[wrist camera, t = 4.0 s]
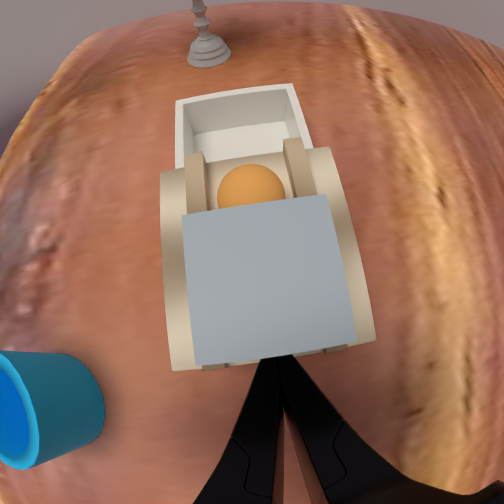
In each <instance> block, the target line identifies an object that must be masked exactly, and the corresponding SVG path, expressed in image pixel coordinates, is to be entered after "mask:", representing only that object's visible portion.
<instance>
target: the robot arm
mask: <svg viewBox="0 0 504 504" xmlns="http://www.w3.org/2000/svg"><path fill="white" fill-rule="evenodd" d="M283 407H284V409H283ZM284 412H285V416H286V420H287V423H288V426H289V430H290V433H291V437H292V440H293V443H294V447H295V450H296V453H297V457H298V460H299V463H300V467H301V470H302V473H303V477H304V480H305V483H306V487H307V490H308V493H309V497H310V500H311V503H312V504H504V482H502V481H499V480H497V481H495V482H493V483H492V484H490V485H488V486H487V487H485V488H484V489H482V490H480V491H479V492H477V493H474V494H470V495H460V494H455V493H452V492H448V491H445V490H442V489H438V488H435V487H432V486H429V485H426V484H423V483H420V482H418V481H415V480H413V479H410V478H409V477H407V476H405V475H404V474H402V473H401V472H400V471H398V470H397V469H396V468H395V467H393V466H392V465H391V464H390V463H389V462H387V461H386V460H385V459H384V458H383V457H382V456H380V455H379V454H378V453H377V452H376V451H375V450H374V449H372V448H371V447H370V446H369V445H368V444H367V443H366V442H365V441H364V440H363V439H362V438H361V437H360V436H359V435H358V434H357V433H356V432H355V431H354V429H353V428H352V427H351V426H350V425H349V424H348V422H347V421H346V420H344V418H343V417H342V415H341V414H340V413H339V412H338V410H337V409H336V408H335V407H334V406H333V404H332V403H331V402H330V401H329V399H328V398H327V397H326V396H325V395H324V393H323V392H322V391H321V390H320V388H319V387H318V386H317V385H316V383H315V382H314V381H313V380H312V378H311V377H310V376H309V375H308V373H307V372H306V371H305V370H304V368H303V367H302V366H301V365H300V363H299V362H298V361H297V360H296V358H295V357H294V356H293V355H292V354H289V355H283V356H276V357H270V358H263V359H260V362H259V365H258V367H257V370H256V373H255V375H254V378H253V380H252V383H251V386H250V388H249V391H248V393H247V396H246V399H245V401H244V404H243V406H242V409H241V411H240V414H239V416H238V419H237V421H236V424H235V426H234V429H233V431H232V434H231V437H230V438H229V441H228V443H227V446H226V448H225V450H224V452H223V454H222V457H221V459H220V461H219V462H218V464H217V466H216V468H215V470H214V471H213V473H212V475H211V476H210V478H209V479H208V481H207V483H206V484H205V486H204V487H203V489H202V490H201V492H200V494H199V495H198V497H197V498H196V500H195V501H194V503H193V504H283V490H284Z"/></svg>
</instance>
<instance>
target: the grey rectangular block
mask: <svg viewBox="0 0 504 504" xmlns="http://www.w3.org/2000/svg"><path fill="white" fill-rule="evenodd" d="M182 229H183V245H184V259H185V271H186V283H187V294H188V304H189V314H190V323H191V332H192V340H193V349H194V356H195V364H196V366H200V365H212V364H222V363H231V362H240V361H248V360H255V359H263V358H270V357H276V356H283V355H289V354H295V353H301V352H307V351H312V350H318V349H323V348H328V347H333V346H338V345H343V344H347V343H352V342H357V337H356V331H355V325H354V319H353V313H352V308H351V302H350V297H349V292H348V286H347V281H346V276H345V272H344V267H343V262H342V257H341V253H340V248H339V244H338V240H337V235H336V231H335V227H334V223H333V219H332V215H331V211H330V207H329V203H328V199H327V195H326V194H321V195H313V196H305V197H297V198H290V199H283V200H275V201H268V202H261V203H255V204H248V205H241V206H235V207H229V208H222V209H216V210H210V211H204V212H198V213H193V214H187V215H182Z"/></svg>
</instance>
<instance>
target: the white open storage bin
mask: <svg viewBox="0 0 504 504" xmlns="http://www.w3.org/2000/svg"><path fill="white" fill-rule="evenodd" d="M297 137H302V141H303V144H304V148H305V149H310V148H313V145H312V142H311V138H310V135H309V132H308V129H307V126H306V123H305V120H304V116H303V113H302V110H301V107H300V105H299V102H298V99H297V96H296V93H295V90H294V87H293V84H292V83H290V84H278V85H268V86H259V87H251V88H244V89H237V90H230V91H224V92H218V93H212V94H207V95H201V96H196V97H191V98H187V99H182V100H177V101H176V110H175V169H178V168H183V167H185V159H184V155H185V154H190V153H195V152H200V151H202V152H203V155H204V157H205V160H206V163H209V162H215V161H221V160H227V159H233V158H239V157H246V156H253V155H260V154H267V153H275V152H283V139H287V138H297Z"/></svg>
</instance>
